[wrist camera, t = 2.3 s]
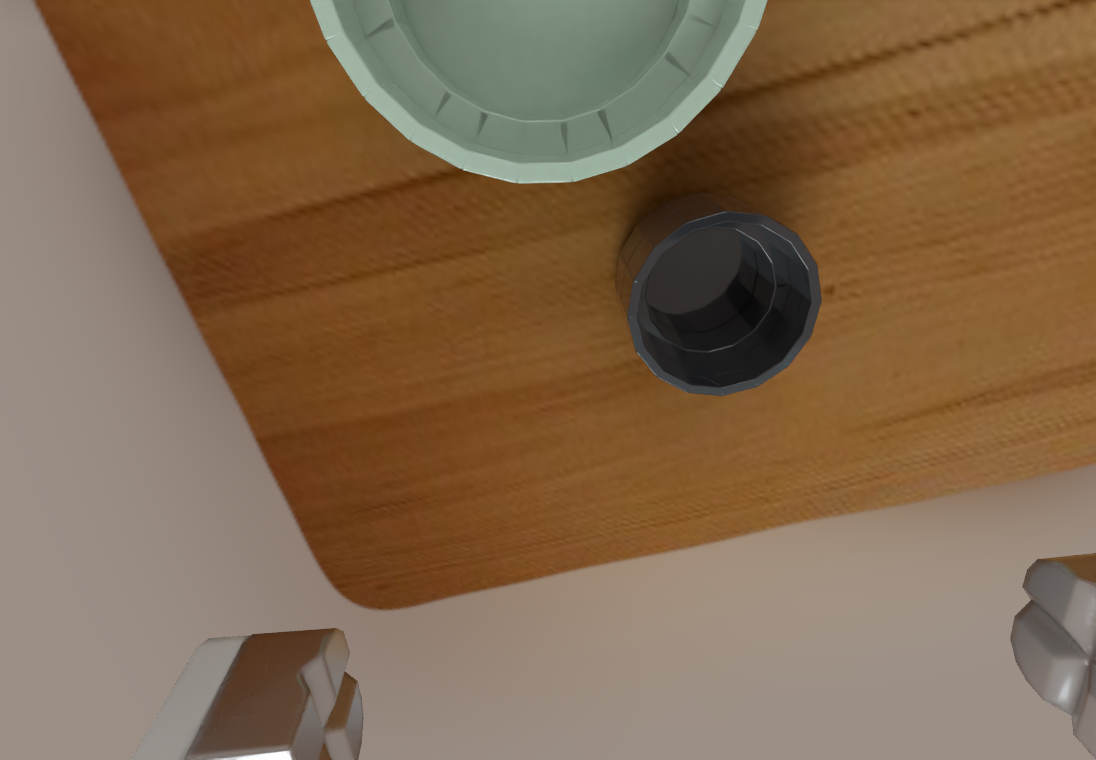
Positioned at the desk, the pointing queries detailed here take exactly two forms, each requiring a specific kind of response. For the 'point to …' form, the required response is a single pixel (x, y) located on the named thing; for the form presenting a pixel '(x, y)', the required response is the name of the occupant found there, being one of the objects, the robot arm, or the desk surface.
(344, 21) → the celadon bowl
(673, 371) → the charcoal cup
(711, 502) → the desk surface
